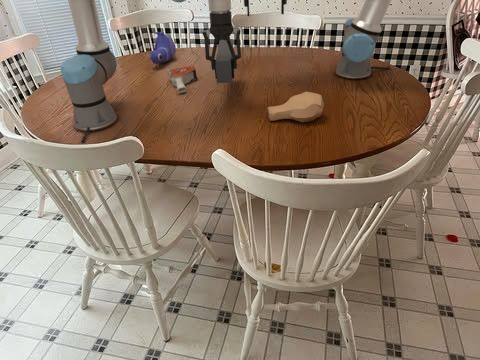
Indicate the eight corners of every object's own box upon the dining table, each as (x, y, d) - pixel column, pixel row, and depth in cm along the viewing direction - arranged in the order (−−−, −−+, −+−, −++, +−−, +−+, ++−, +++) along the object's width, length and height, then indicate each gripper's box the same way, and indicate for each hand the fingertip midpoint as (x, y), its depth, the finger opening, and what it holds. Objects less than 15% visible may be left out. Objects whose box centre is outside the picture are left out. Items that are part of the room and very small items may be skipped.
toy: (164, 64, 198) (143, 70, 176) (159, 31, 191) (137, 33, 169) (180, 63, 196) (162, 69, 173) (176, 30, 189) (156, 32, 167)
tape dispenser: (182, 98, 151) (209, 79, 163) (180, 86, 147) (208, 68, 160) (151, 89, 158) (180, 72, 171) (149, 78, 155) (178, 61, 167)
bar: (232, 82, 131) (230, 60, 127) (217, 83, 132) (215, 61, 127) (233, 58, 155) (232, 38, 150) (221, 58, 155) (219, 39, 150)
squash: (327, 123, 123) (327, 101, 117) (270, 133, 125) (267, 112, 119) (321, 105, 131) (320, 84, 124) (267, 115, 133) (264, 94, 126)
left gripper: (247, 7, 124) (249, 73, 137) (194, 10, 124) (201, 75, 138) (247, 12, 118) (249, 80, 131) (191, 14, 118) (199, 82, 132)
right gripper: (297, -52, 132) (295, 10, 144) (231, -47, 133) (234, 14, 145) (300, -50, 126) (297, 14, 138) (230, -46, 127) (234, 18, 139)
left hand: (225, 77), depth 135 cm, fingers closed on bar, 6 cm apart
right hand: (265, 14), depth 142 cm, fingers open, 13 cm apart
